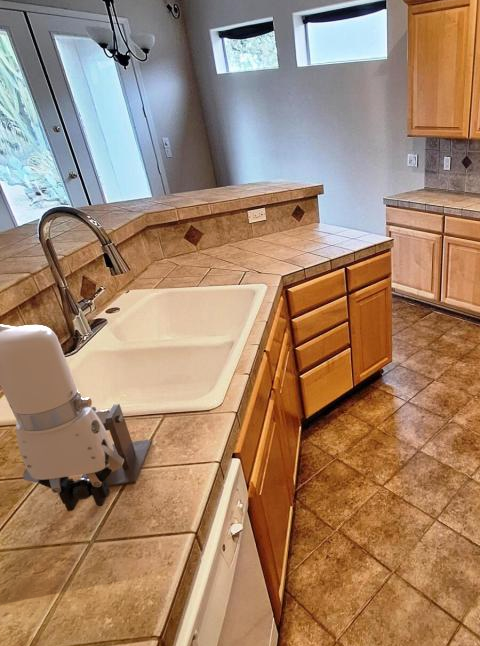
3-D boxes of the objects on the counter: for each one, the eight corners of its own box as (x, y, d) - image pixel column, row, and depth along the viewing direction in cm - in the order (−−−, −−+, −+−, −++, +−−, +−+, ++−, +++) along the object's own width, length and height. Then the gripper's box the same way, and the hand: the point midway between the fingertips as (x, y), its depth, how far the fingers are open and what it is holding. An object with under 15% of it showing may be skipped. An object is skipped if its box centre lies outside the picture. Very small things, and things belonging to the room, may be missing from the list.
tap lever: (97, 501, 69) (88, 492, 67) (73, 505, 68) (63, 496, 66) (118, 418, 80) (111, 407, 77) (98, 420, 79) (90, 410, 76)
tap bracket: (136, 485, 78) (116, 429, 72) (80, 494, 76) (55, 437, 70) (153, 443, 88) (137, 391, 83) (104, 450, 86) (84, 397, 81)
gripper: (122, 389, 67) (150, 477, 75) (-3, 402, 63) (41, 493, 71) (105, 417, 60) (138, 510, 69) (-36, 434, 57) (17, 530, 65)
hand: (88, 501), depth 70 cm, fingers closed on tap lever, 3 cm apart
